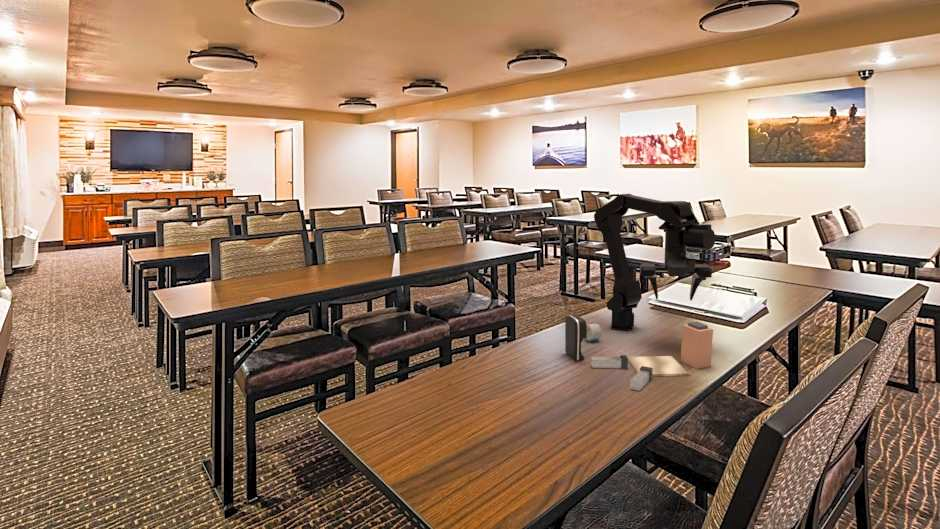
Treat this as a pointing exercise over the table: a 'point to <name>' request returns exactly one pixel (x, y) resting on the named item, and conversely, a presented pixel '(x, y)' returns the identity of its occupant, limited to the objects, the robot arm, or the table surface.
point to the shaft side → (610, 362)
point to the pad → (658, 365)
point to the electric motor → (593, 332)
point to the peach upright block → (696, 344)
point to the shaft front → (641, 378)
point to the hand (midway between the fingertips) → (673, 299)
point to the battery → (574, 336)
